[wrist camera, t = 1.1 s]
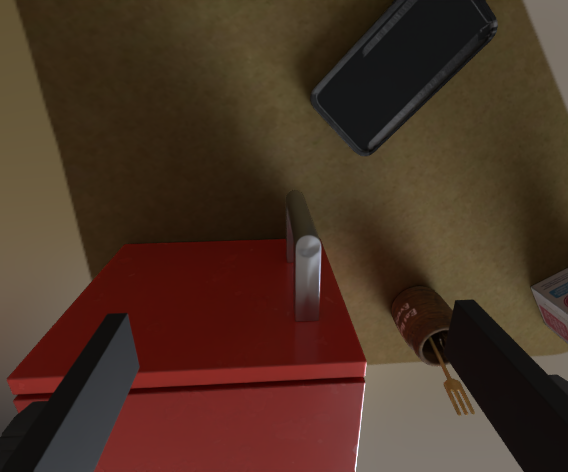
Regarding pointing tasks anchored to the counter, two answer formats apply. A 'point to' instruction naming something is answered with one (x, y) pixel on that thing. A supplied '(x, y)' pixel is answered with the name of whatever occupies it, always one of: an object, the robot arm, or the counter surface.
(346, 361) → the red cabinet door
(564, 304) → the juice carton
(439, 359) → the utensil holder
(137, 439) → the cabinet
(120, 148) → the counter surface
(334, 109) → the phone
